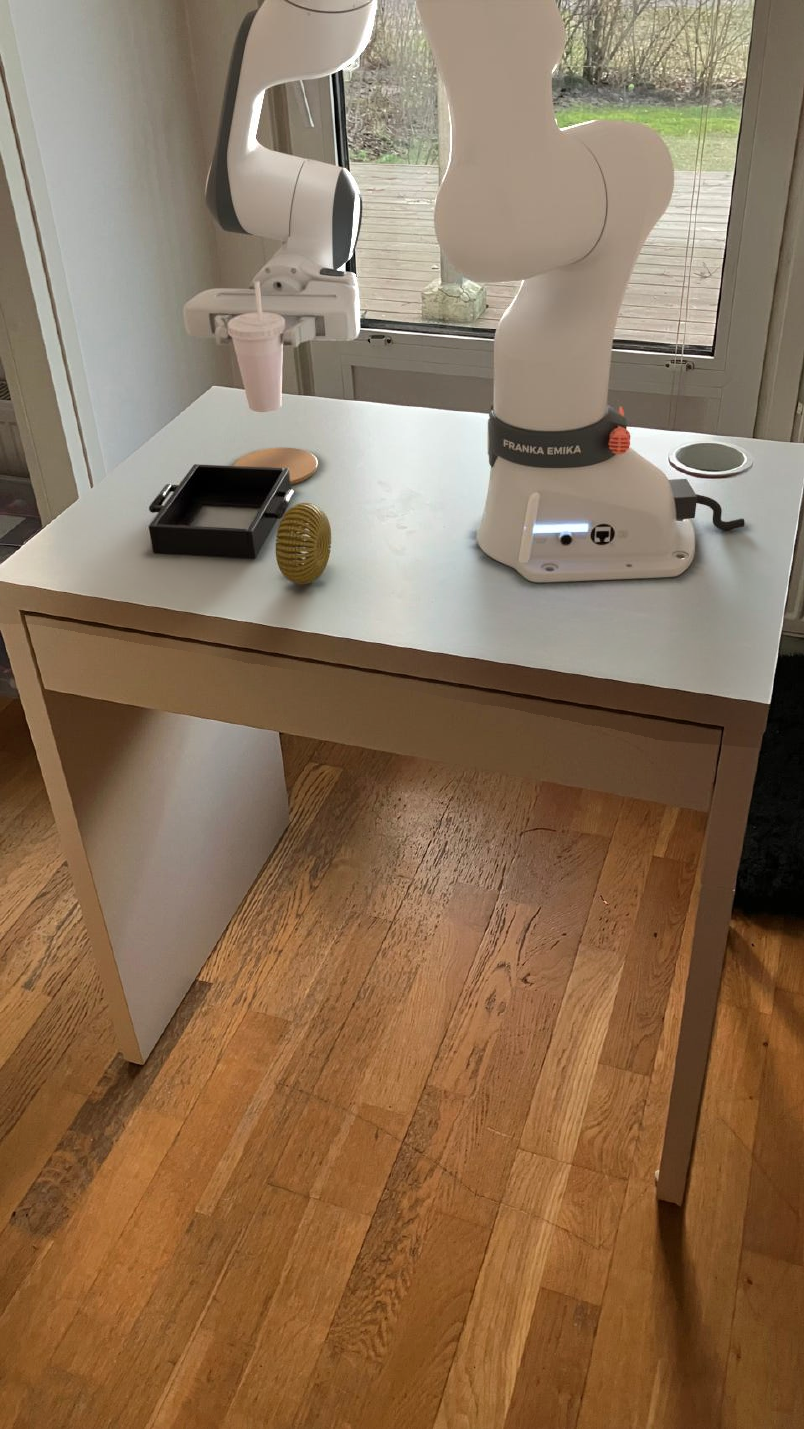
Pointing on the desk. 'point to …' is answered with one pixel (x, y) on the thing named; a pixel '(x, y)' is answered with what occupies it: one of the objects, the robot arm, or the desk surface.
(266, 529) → the pan
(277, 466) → the cork pad
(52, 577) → the desk surface
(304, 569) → the sculpture
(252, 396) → the smoothie
